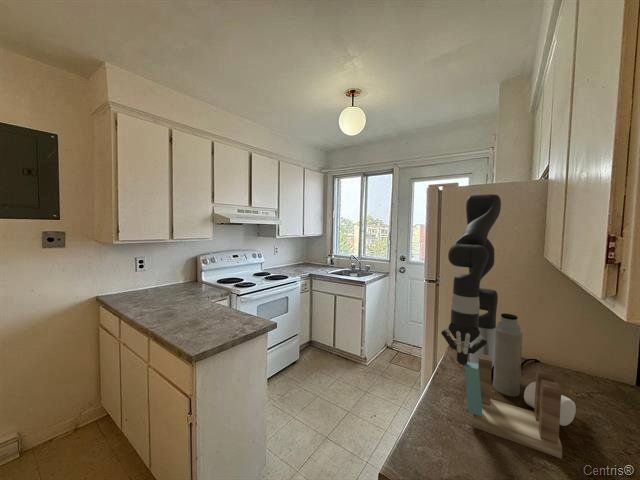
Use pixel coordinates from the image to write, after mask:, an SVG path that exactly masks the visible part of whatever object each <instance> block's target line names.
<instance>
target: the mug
mask: <svg viewBox="0 0 640 480" xmlns="http://www.w3.org/2000/svg"><path fill="white" fill-rule="evenodd" d="M535 387H536V381H532V382H530V383H529V384H528V385H527V386H526V387H525V390H524V392H523V398H524V402H525V403H526V404H527V405H528V406H530V407H531V408H533V409H534V406H535ZM576 405H577V404H576V403H575V402H574V401H573V400H572V399H571V398H569V397H568V396H565V395H562V394H561V406H560V423H559V426H562V427H564V426H568V425H570V424H571V423H572V422H573V420H574V418H575V417H576V412H577V411H576V410H577V409H576V407H577V406H576Z"/></svg>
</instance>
